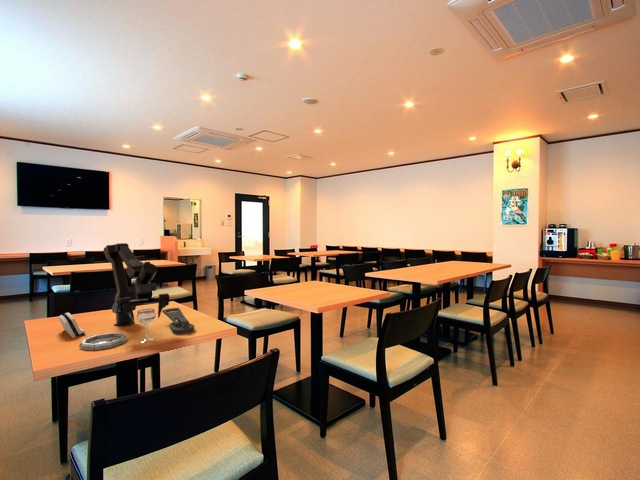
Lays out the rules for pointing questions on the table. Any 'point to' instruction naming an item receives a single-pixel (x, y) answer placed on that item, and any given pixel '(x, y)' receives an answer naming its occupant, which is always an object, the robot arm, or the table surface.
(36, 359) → the table surface
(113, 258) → the robot arm
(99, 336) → the rosette plate
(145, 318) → the wineglass
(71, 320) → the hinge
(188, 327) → the zipper pull
